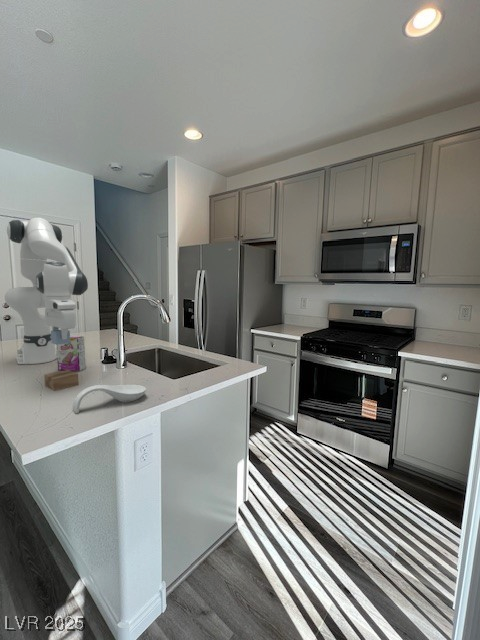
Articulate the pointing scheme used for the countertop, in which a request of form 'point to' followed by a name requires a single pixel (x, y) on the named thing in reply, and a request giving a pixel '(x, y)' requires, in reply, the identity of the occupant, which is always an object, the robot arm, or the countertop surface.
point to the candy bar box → (72, 354)
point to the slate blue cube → (59, 337)
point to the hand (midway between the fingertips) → (60, 338)
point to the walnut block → (61, 380)
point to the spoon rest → (112, 393)
